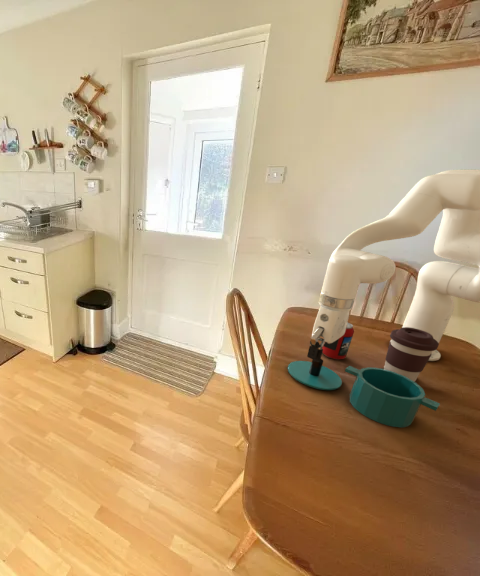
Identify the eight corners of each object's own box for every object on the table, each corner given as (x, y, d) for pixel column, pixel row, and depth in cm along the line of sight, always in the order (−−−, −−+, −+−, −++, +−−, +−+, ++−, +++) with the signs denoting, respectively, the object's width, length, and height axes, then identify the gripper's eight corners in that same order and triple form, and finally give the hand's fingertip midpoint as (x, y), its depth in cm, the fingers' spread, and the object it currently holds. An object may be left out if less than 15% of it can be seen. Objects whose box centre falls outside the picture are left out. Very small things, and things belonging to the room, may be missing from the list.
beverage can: (346, 363, 101) (357, 330, 96) (321, 357, 104) (330, 325, 100) (344, 353, 106) (354, 322, 102) (320, 347, 110) (329, 317, 105)
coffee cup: (430, 388, 89) (451, 343, 84) (390, 384, 91) (408, 339, 86) (406, 368, 98) (423, 326, 93) (370, 364, 100) (385, 323, 95)
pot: (349, 381, 92) (357, 357, 89) (433, 420, 78) (447, 393, 75) (329, 398, 86) (338, 372, 83) (417, 443, 72) (432, 414, 69)
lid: (300, 359, 103) (305, 343, 101) (349, 381, 93) (355, 363, 90) (278, 373, 96) (282, 356, 94) (327, 398, 86) (333, 379, 84)
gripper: (337, 313, 78) (321, 370, 85) (365, 297, 87) (349, 349, 93) (305, 303, 84) (292, 357, 90) (334, 289, 93) (321, 339, 99)
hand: (321, 353), depth 92 cm, fingers open, 9 cm apart
